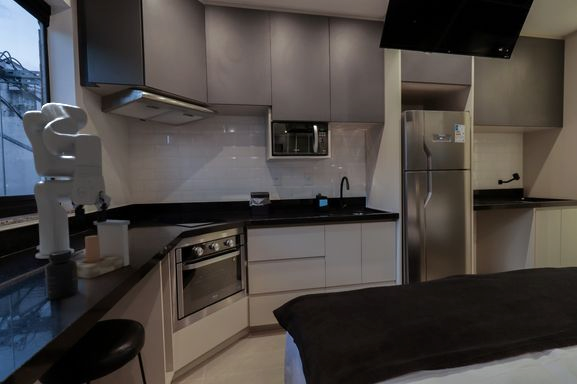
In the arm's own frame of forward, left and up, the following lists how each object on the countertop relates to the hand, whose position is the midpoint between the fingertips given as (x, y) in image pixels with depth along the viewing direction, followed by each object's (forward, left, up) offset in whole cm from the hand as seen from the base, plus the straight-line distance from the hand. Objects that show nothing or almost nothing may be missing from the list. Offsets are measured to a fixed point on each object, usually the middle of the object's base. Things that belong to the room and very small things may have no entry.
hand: (90, 221), depth 98 cm
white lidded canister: (+1, +8, -17) cm, 19 cm away
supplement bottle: (+12, -18, -18) cm, 28 cm away
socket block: (+1, 0, -17) cm, 17 cm away
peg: (+1, 0, -17) cm, 17 cm away
